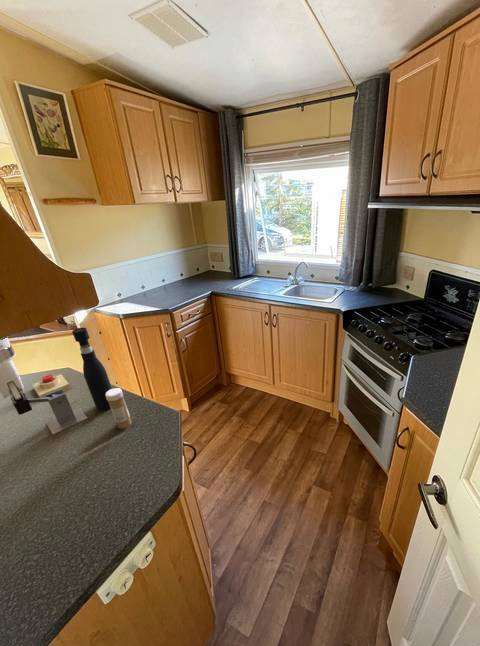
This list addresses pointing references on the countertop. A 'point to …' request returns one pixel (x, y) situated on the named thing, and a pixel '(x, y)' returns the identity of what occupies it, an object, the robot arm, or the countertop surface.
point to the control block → (51, 386)
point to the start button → (48, 379)
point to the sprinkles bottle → (118, 407)
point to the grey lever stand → (63, 413)
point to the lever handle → (40, 399)
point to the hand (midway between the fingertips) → (24, 408)
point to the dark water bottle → (93, 371)
